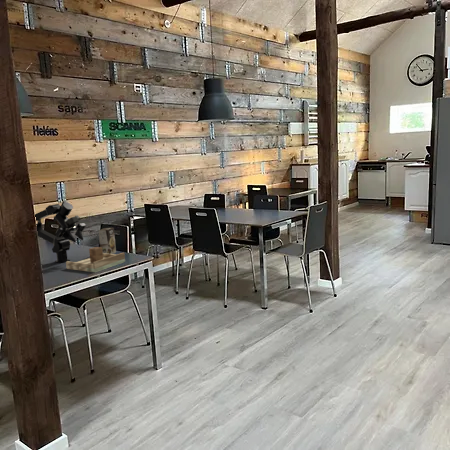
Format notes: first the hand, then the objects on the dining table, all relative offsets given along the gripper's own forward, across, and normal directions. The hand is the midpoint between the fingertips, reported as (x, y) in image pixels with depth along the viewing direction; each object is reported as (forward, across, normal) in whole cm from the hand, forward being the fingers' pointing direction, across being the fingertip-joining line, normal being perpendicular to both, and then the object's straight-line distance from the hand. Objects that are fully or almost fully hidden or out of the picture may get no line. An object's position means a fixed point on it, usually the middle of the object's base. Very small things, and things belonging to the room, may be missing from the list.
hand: (79, 240), depth 261 cm
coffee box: (+8, +24, +11) cm, 28 cm away
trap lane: (+18, 0, +1) cm, 18 cm away
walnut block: (+17, 0, -1) cm, 17 cm away
